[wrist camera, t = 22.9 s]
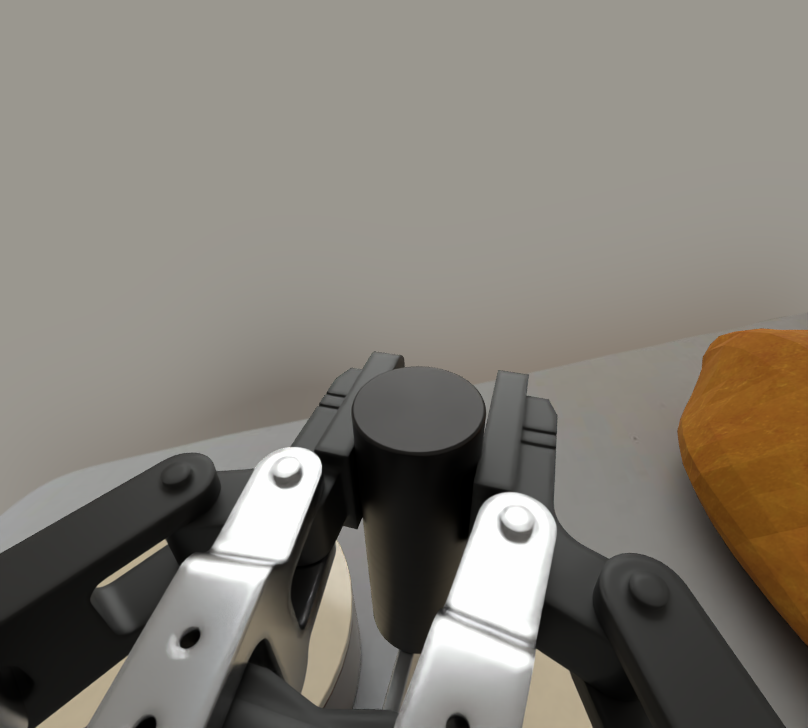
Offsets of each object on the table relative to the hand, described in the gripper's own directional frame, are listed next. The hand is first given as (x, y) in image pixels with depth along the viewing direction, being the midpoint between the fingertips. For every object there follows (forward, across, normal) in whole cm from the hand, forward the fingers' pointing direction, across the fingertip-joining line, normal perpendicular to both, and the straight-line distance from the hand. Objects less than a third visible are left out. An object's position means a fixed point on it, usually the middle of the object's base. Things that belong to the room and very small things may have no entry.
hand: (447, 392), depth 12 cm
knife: (-3, 0, +14) cm, 14 cm away
